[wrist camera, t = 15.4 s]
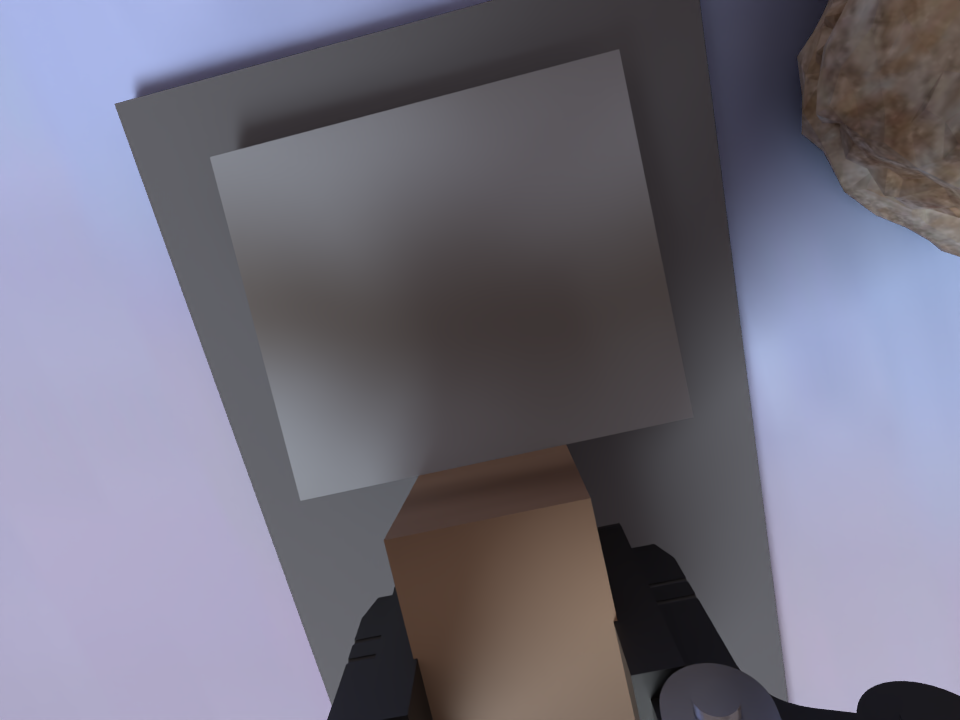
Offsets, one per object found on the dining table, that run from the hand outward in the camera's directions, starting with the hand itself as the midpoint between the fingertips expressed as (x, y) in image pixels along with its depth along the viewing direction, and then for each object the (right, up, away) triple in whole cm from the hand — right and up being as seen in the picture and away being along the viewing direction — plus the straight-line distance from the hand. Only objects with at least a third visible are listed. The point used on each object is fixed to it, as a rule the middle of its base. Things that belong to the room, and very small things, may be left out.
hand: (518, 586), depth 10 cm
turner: (0, +1, +1) cm, 2 cm away
